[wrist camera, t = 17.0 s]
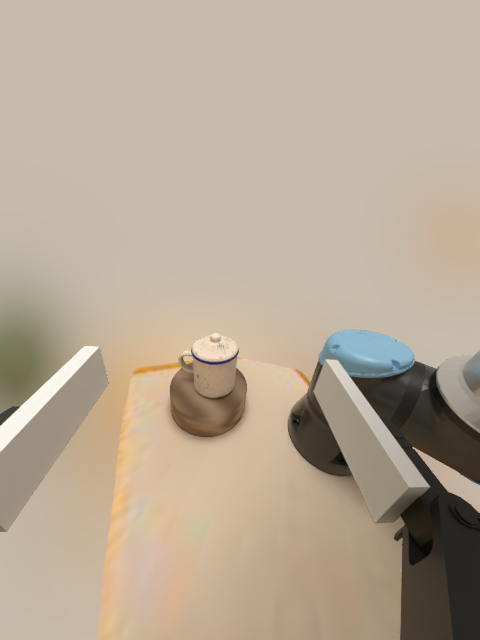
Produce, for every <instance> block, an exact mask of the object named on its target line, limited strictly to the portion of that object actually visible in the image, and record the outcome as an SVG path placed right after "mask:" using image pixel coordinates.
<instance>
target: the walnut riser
mask: <svg viewBox="0 0 480 640" xmlns="http://www.w3.org/2000/svg"><path fill="white" fill-rule="evenodd" d="M187 366H189V367H191V368H193V363H190V364H188V365H187ZM246 392H247V383H246V380H245V377H244V376H243V374H242V373H241V372H240V371H239V370H238V369H237V368H236V379H235V386H234V388H233V390H232V391H231V392H230V393H228V394H227V395H225V396H222V397H217V398H210V397H206V396H203V395H201V394H200V393H199V392H197V390H196V389H195V386H194V373H189V372H186V371H185V370H183V369H182V368H181V369H180V370H179V371H178V372H177V373H176V374H175V376H174V377H173V379H172V381H171V385H170V397H171V411H172V416H173V418H174V420H175V422H176V423H177V425H178V426H179V427H180V428H181V429H183V430H184V431H186V432H187V433H189V434H192V435H195V436H200V437H212V436H217V435H220V434H223V433H225V432H227V431H229V430H230V429H232V428H233V427H234V426H235V425H236V424H237V423H238V421H239V420H240V418H241V416H242V414H243V410H244V404H245V398H246Z"/></svg>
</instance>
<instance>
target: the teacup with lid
mask: <svg viewBox="0 0 480 640" xmlns="http://www.w3.org/2000/svg"><path fill="white" fill-rule="evenodd" d="M238 352H239V351H238V346H237V344H236V343H235V342H234V341H233V340H231V339H229V338H227V337H224V336H220V335H219V334H217V333H214V334H211V336H207V337H204V338H201V339H199V340H198V341H196V342H195V343H194V345H193V347H192V350H191V351H184V352H182V353H181V354H180V356H179V364H180V366H181V367H182V369H183V370H185V371H186V372H189V373H194V386H195V389H196V390H197V392H199V393H200V394H201V395H203V396H206V397H210V398H217V397H222V396H225V395H227V394H228V393H230V392H231V391H232V390H233V388H234V386H235V379H236V364H237V355H238ZM183 356H193V368H191V367H189V366H187V365H186V364H185V362H184V360H183Z"/></svg>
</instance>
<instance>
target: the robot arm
mask: <svg viewBox="0 0 480 640" xmlns="http://www.w3.org/2000/svg"><path fill="white" fill-rule="evenodd" d="M108 384H109V382H108V378H107V375H106V370H105V367H104V363H103V359H102V355H101V351H100V347H91V346H84V347H83V348H82V349H81V350H80V351H79V352H78V353H77V354H76V355H75V356H74V357H73V358H72V359H71V360H70V361H68V362H67V363H66V364H65V365H64V366H63V367H62V368H61V369H60V370H59V371H58V372H57V373H56V374H55V375H54V376H53V377H52V378H51V379H49V380H48V381H47V382H46V383H45V384H44V385H43V386H42V387H41V388H40V389H39V390H38V391H37V392H36V393H35V394H34V395H33V396H32V397H31V398H29V399H28V400H27V401H26V402H25V403H24V404H23V405H22V406H21V407H14V406H13V407H11V408H9V409H8V410H6V411H5V412H3V413H1V414H0V532H5V531H7V530H8V529H9V528H10V526H11V525H12V523H13V522H14V520H15V519H16V518H17V516H18V515H19V513H20V512H21V510H22V509H23V507H24V506H25V504H26V503H27V502H28V500H29V499H30V497H31V496H32V494H33V493H34V491H35V490H36V489H37V487H38V486H39V484H40V483H41V481H42V480H43V478H44V477H45V475H46V474H47V473H48V471H49V470H50V468H51V467H52V465H53V464H54V462H55V461H56V460H57V458H58V457H59V455H60V454H61V452H62V451H63V449H64V448H65V446H66V445H67V444H68V442H69V440H70V439H71V438H72V436H73V435H74V433H75V432H76V431H77V429H78V428H79V426H80V424H81V423H82V422H83V420H84V419H85V417H86V416H87V415H88V413H89V412H90V410H91V409H92V407H93V406H94V404H95V403H96V401H97V400H98V399H99V397H100V396H101V394H102V393H103V391H104V390H105V388H106V387H107V386H108ZM288 430H289V434H290V437H291V439H292V442H293V443H294V445H295V447H296V448H297V450H298V451H299V452H300V453H301V455H302V456H303V457H304V458H305V459H306V460H308V461H309V462H310V463H311V464H313V465H314V466H316V467H317V468H319V469H321V470H323V471H325V472H327V473H330V474H334V475H350V474H352V475H353V477H354V479H355V481H356V483H357V485H358V488H359V490H360V492H361V494H362V496H363V498H364V500H365V502H366V505H367V507H368V509H369V511H370V513H371V515H372V517H373V519H374V522H375V523H391V522H394V521H395V520H396V519H397V518H398V517H399V516H400V515H401V517H402V519H403V521H404V522H405V524H406V525H404V526H403V527H402V528H401V529H400V530H399V531H398V532H397V533H395V537H394V539H395V540H396V541H398V540H399V539H400V538H402V537H403V544H402V545H403V548H402V592H401V635H400V640H480V513H478V512H477V511H476V510H475V509H474V508H473V507H472V506H471V505H470V504H469V503H468V502H466V501H465V500H463V499H462V498H461V497H458V496H457V495H454V494H452V493H449V492H447V490H446V489H445V488H444V487H443V485H442V484H441V483H440V482H439V480H438V479H437V478H436V476H435V475H434V474H433V473H432V471H431V470H430V469H429V467H428V466H427V465H426V464H425V462H424V461H423V460H422V459H421V457H420V456H419V455H418V453H417V452H416V451H415V450H414V449H413V448H412V446H413V447H414V448H416V449H418V450H420V451H422V452H423V453H425V454H427V455H429V456H431V457H432V458H434V459H436V460H438V461H440V462H441V463H443V464H445V465H447V466H449V467H450V468H452V469H454V470H456V471H458V472H459V473H460V474H461V475H463V476H464V477H466V478H467V479H469V480H471V481H473V482H474V483H476V484H479V485H480V351H478V352H477V353H476V354H475V355H474V356H456V357H453V358H450V359H447V360H446V361H445V362H443V363H442V364H441V365H440V366H439V367H438V368H437V369H435V368H433V367H430V366H427V365H425V364H422V363H419V362H417V361H415V359H414V354H413V352H412V350H411V349H410V348H409V347H408V346H406V345H405V344H404V343H402V342H397V340H396V339H394V338H392V337H389V336H386V335H384V334H380V333H376V332H371V331H366V330H343V331H339V332H336V333H334V334H332V335H331V336H330V337H329V338H328V339H327V341H326V343H325V345H324V348H323V350H322V351H321V353H320V354H319V361H318V363H317V366H316V369H315V372H314V375H313V378H312V381H311V383H310V386H309V389H308V392H307V393H306V394H305V395H304V396H303V397H302V398H301V399H300V400H299V401H298V402H297V403H296V404H295V405H294V407H293V408H292V410H291V413H290V416H289V420H288Z"/></svg>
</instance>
